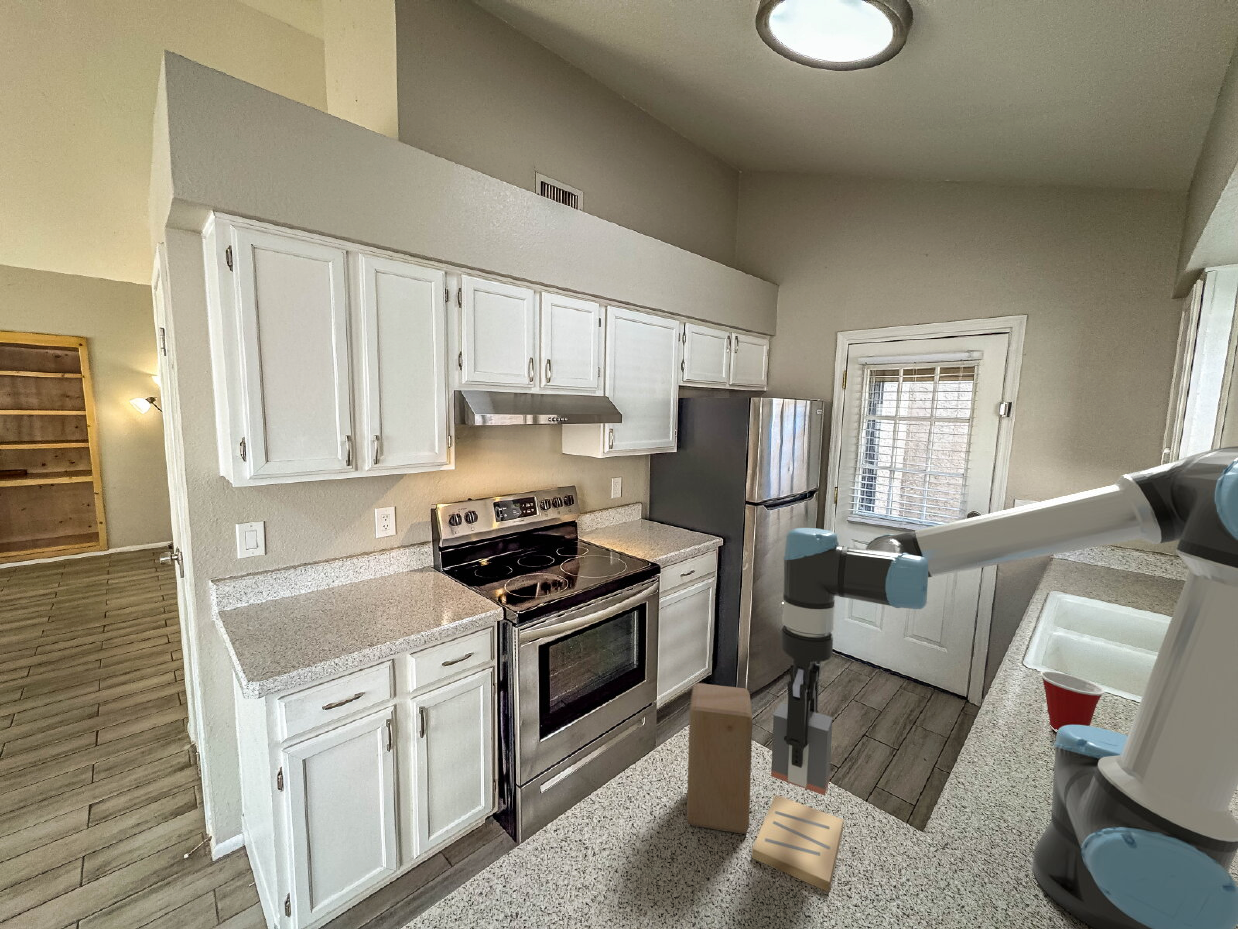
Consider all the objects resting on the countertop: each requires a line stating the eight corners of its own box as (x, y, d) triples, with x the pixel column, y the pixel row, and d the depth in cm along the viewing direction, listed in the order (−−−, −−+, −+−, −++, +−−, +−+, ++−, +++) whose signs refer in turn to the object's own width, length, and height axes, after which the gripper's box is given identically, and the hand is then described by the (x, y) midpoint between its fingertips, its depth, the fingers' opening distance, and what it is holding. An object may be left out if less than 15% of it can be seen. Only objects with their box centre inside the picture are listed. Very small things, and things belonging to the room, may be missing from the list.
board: (842, 828, 84) (843, 819, 84) (829, 892, 72) (829, 882, 72) (775, 802, 89) (775, 794, 89) (752, 858, 77) (752, 848, 77)
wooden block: (749, 838, 81) (752, 716, 80) (686, 827, 83) (689, 708, 82) (746, 795, 91) (749, 686, 90) (690, 787, 93) (692, 680, 92)
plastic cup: (1114, 743, 110) (1118, 688, 109) (1079, 750, 107) (1082, 695, 106) (1058, 716, 120) (1061, 667, 119) (1025, 723, 117) (1028, 672, 116)
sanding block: (829, 779, 80) (832, 717, 80) (824, 796, 76) (827, 731, 76) (778, 761, 84) (780, 702, 84) (771, 776, 80) (773, 715, 80)
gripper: (794, 608, 88) (789, 738, 90) (767, 641, 73) (761, 797, 75) (841, 617, 85) (835, 753, 86) (822, 654, 70) (815, 818, 71)
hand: (800, 773), depth 80 cm, fingers closed on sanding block, 4 cm apart
